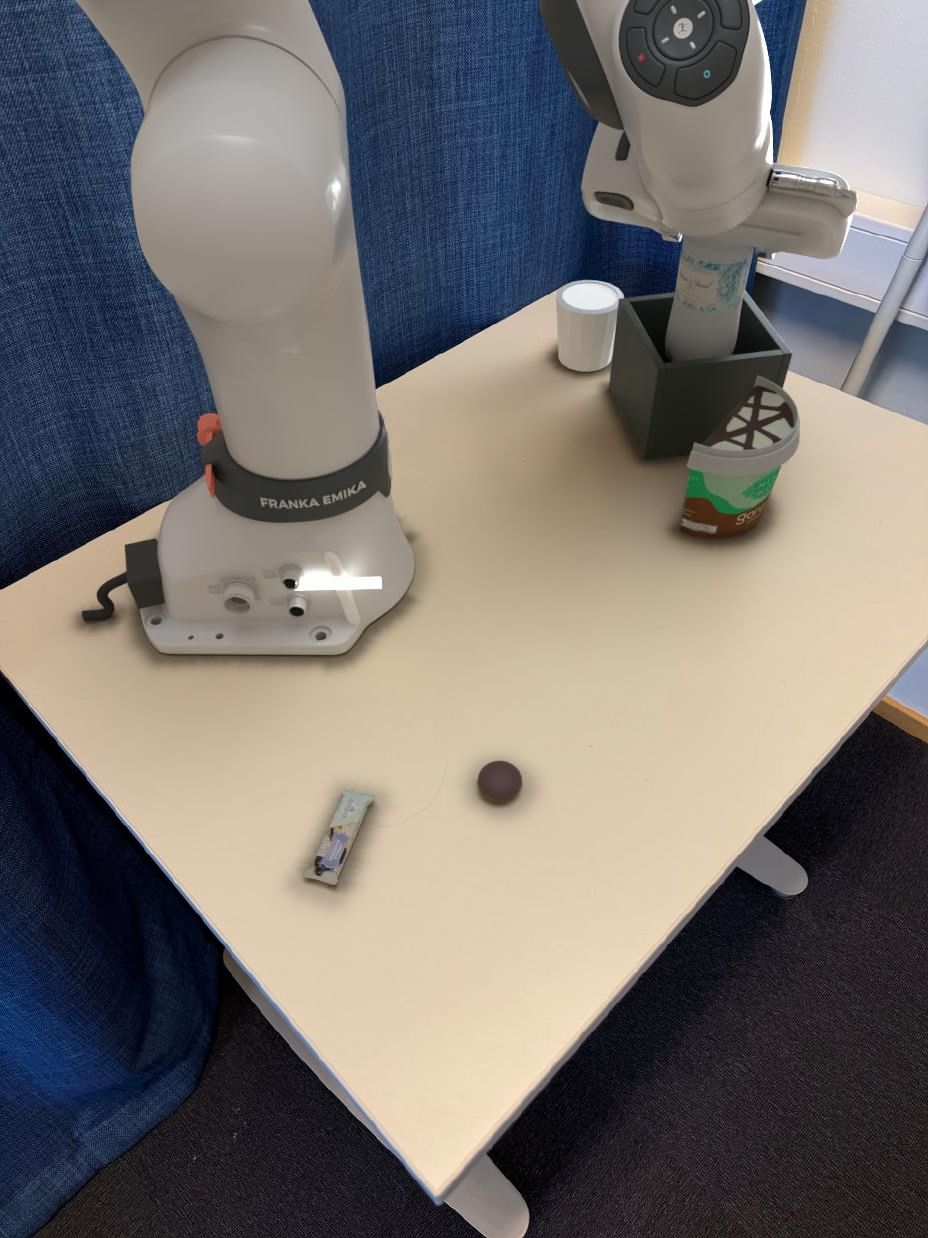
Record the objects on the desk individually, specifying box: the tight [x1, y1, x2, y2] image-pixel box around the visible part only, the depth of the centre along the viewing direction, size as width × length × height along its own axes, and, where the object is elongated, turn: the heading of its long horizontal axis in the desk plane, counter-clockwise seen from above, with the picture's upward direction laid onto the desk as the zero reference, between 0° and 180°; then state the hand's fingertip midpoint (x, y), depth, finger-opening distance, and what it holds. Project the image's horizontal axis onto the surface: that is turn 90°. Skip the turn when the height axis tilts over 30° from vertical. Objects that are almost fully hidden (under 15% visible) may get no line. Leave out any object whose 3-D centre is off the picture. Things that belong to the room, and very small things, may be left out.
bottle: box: [665, 234, 755, 362], centre depth 77 cm, size 7×7×20 cm
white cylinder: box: [555, 279, 625, 373], centre depth 94 cm, size 7×7×7 cm
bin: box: [608, 290, 793, 461], centre depth 85 cm, size 12×12×10 cm
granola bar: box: [303, 788, 376, 886], centre depth 59 cm, size 7×2×1 cm, turn 162°
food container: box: [679, 375, 801, 540], centre depth 75 cm, size 12×6×10 cm, turn 143°
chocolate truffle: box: [477, 760, 523, 802], centre depth 61 cm, size 3×3×2 cm
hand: (719, 240), depth 77 cm, fingers closed on bottle, 6 cm apart
